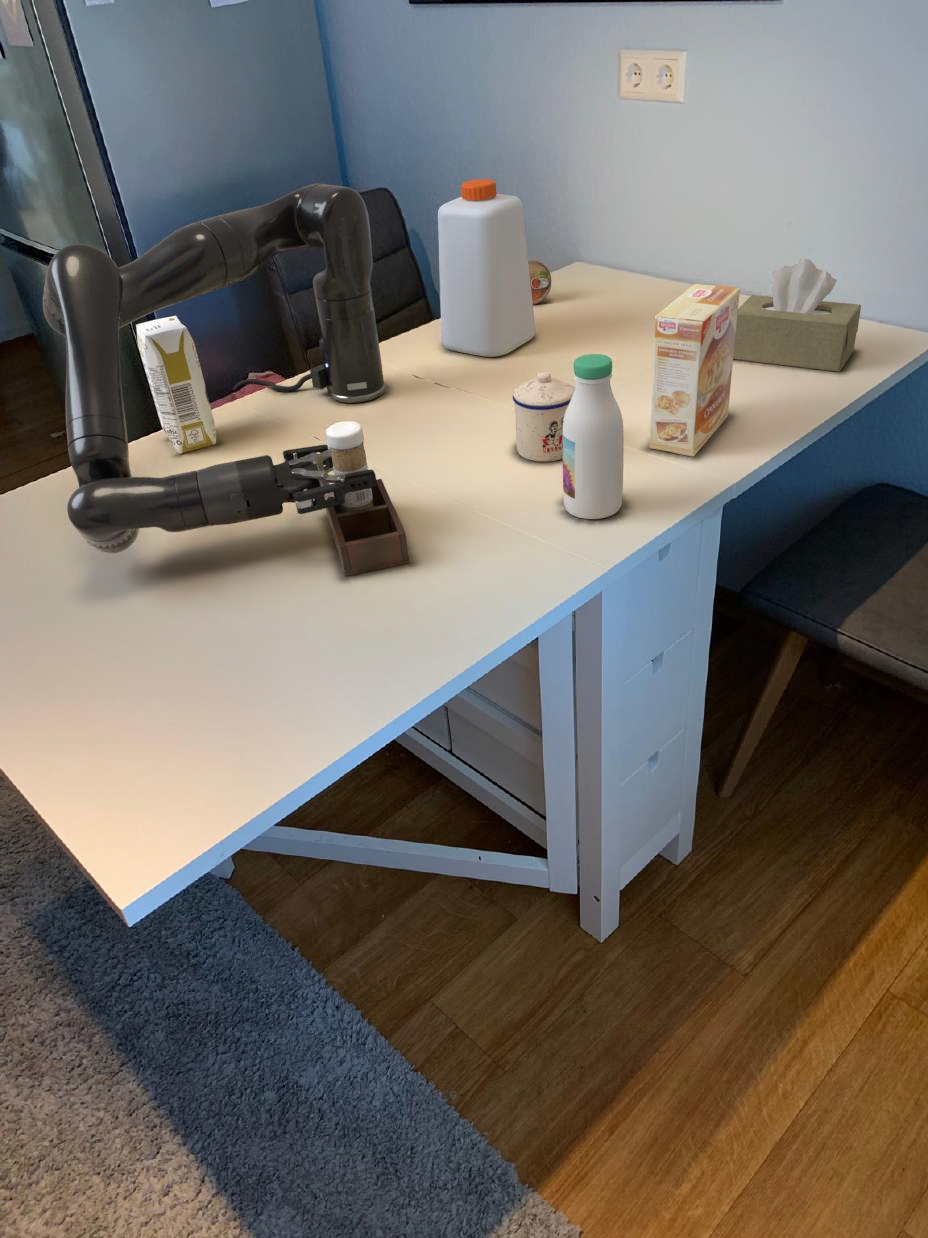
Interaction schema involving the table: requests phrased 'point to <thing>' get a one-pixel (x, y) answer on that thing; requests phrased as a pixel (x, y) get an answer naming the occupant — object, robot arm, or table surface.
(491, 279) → the plastic bottle
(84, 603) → the table surface
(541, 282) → the tin
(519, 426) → the teacup with lid
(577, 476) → the milk bottle
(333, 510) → the holder
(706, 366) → the coffeecake box
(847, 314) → the tissue box
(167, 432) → the juice carton
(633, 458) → the table surface
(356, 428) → the sprinkles bottle
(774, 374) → the table surface
